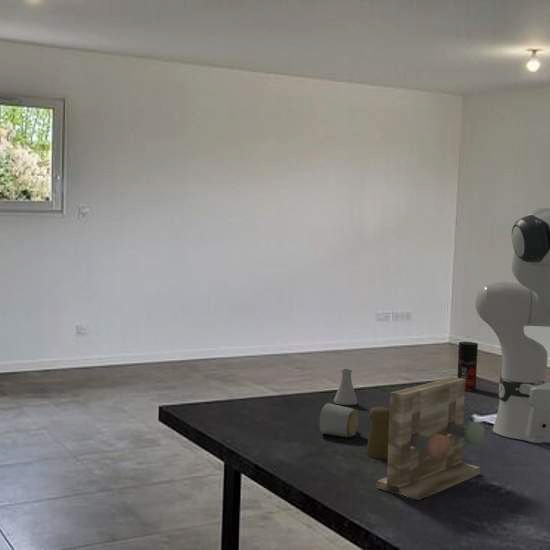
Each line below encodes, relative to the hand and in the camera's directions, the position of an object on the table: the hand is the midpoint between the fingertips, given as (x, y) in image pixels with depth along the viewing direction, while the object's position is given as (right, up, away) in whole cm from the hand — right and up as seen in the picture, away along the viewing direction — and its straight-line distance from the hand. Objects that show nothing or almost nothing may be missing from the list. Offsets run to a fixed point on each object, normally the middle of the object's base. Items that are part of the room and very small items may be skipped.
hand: (528, 385), depth 159 cm
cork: (-26, -20, +26) cm, 42 cm away
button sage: (-10, -13, +10) cm, 20 cm away
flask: (-29, -16, +77) cm, 84 cm away
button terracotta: (-20, -14, 0) cm, 24 cm away
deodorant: (+12, -15, +101) cm, 103 cm away
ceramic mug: (-34, -18, +43) cm, 58 cm away
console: (-18, -21, +8) cm, 29 cm away
